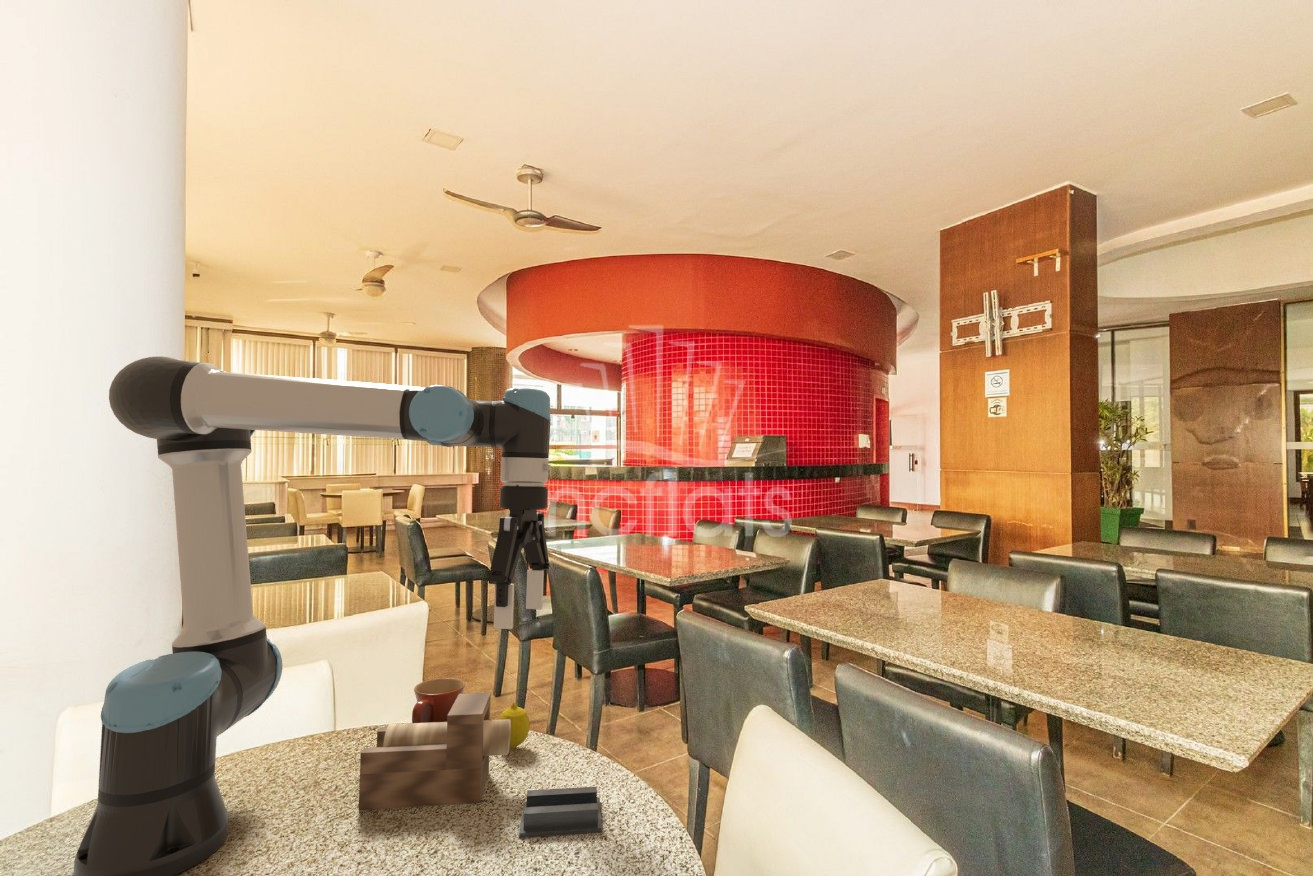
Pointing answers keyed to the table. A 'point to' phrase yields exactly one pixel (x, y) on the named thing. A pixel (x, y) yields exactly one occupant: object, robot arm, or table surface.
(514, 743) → the fruit
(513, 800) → the table surface
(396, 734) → the axle
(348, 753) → the table surface
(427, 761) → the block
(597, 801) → the cradle
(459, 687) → the mug
